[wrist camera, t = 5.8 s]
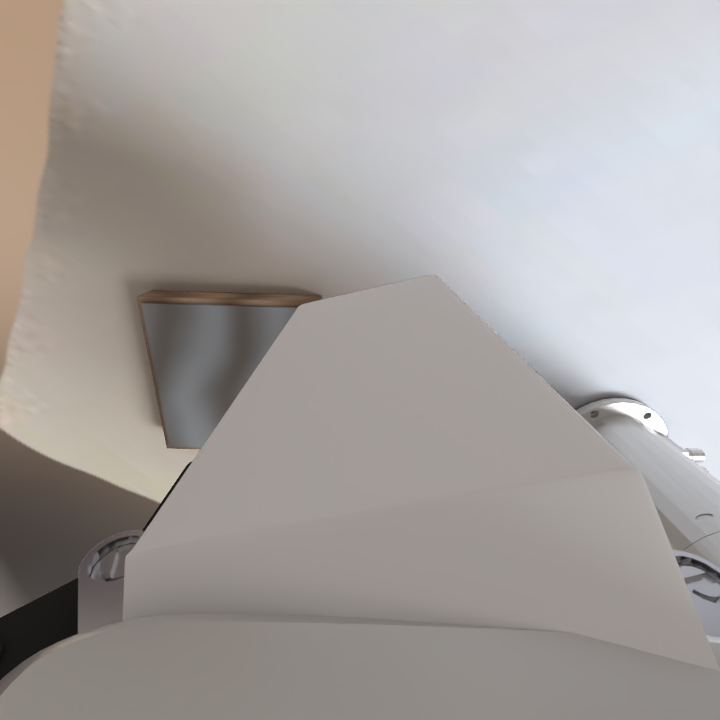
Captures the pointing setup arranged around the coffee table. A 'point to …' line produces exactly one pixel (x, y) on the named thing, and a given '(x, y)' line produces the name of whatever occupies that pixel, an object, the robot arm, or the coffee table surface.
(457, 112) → the coffee table surface
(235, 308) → the framed mirror
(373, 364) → the milk carton
